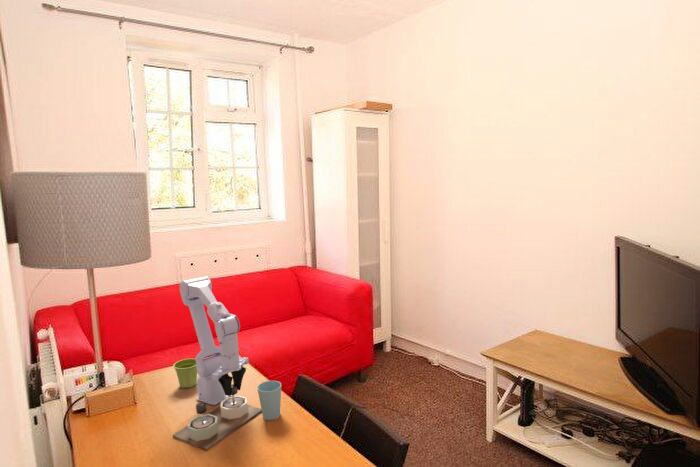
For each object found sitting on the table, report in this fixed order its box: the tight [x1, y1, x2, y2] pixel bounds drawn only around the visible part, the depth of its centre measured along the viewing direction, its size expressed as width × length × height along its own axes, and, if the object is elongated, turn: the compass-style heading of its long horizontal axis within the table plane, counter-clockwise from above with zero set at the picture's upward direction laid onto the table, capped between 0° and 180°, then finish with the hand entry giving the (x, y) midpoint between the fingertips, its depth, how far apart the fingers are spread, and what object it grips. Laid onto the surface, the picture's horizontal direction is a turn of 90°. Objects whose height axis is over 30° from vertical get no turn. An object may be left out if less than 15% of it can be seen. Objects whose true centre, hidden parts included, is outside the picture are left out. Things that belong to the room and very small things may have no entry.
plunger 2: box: [224, 383, 243, 408], centre depth 146 cm, size 6×6×6 cm
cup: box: [257, 380, 282, 421], centre depth 144 cm, size 8×8×10 cm
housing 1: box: [187, 413, 218, 441], centre depth 135 cm, size 8×8×3 cm
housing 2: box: [220, 395, 248, 419], centre depth 146 cm, size 8×8×3 cm
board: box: [172, 404, 262, 452], centre depth 141 cm, size 15×24×1 cm, turn 149°
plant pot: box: [172, 358, 198, 389], centre depth 169 cm, size 9×9×9 cm
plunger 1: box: [193, 401, 213, 429], centre depth 135 cm, size 6×6×6 cm
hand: (232, 392), depth 146 cm, fingers open, 4 cm apart
